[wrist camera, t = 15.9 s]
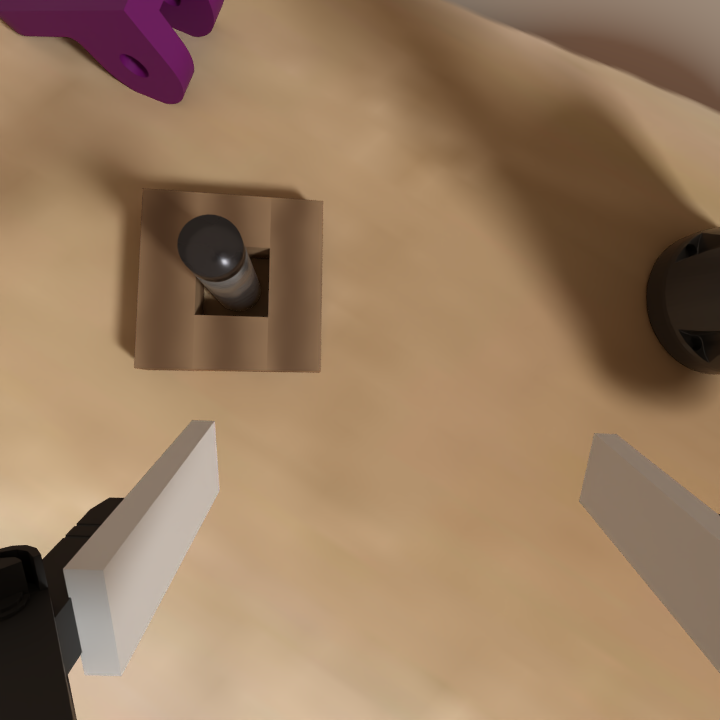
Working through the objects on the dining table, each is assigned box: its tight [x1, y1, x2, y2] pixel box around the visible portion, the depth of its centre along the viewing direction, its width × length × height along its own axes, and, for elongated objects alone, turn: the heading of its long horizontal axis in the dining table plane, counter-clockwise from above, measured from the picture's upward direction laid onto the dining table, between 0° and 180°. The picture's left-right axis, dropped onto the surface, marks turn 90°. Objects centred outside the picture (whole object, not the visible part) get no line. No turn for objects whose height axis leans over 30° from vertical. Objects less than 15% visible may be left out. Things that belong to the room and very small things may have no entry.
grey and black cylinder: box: [177, 214, 261, 311], centre depth 33 cm, size 4×4×12 cm
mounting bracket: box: [0, 0, 224, 104], centre depth 37 cm, size 10×9×19 cm
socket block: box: [134, 188, 323, 372], centre depth 37 cm, size 15×15×3 cm
